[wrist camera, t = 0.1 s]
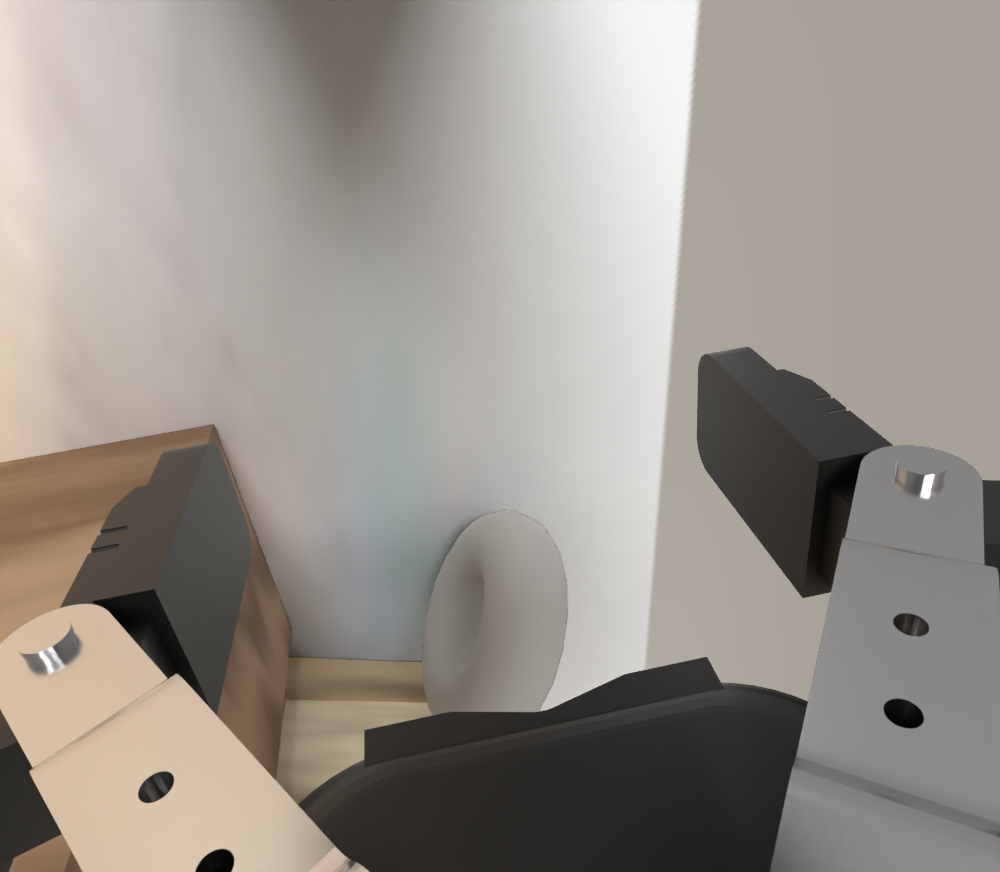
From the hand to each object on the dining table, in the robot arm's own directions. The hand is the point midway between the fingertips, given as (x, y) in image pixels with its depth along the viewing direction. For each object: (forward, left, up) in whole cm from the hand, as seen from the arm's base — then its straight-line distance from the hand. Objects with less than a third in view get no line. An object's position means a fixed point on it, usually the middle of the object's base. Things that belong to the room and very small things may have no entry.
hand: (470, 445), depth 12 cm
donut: (+17, 0, -17) cm, 24 cm away
